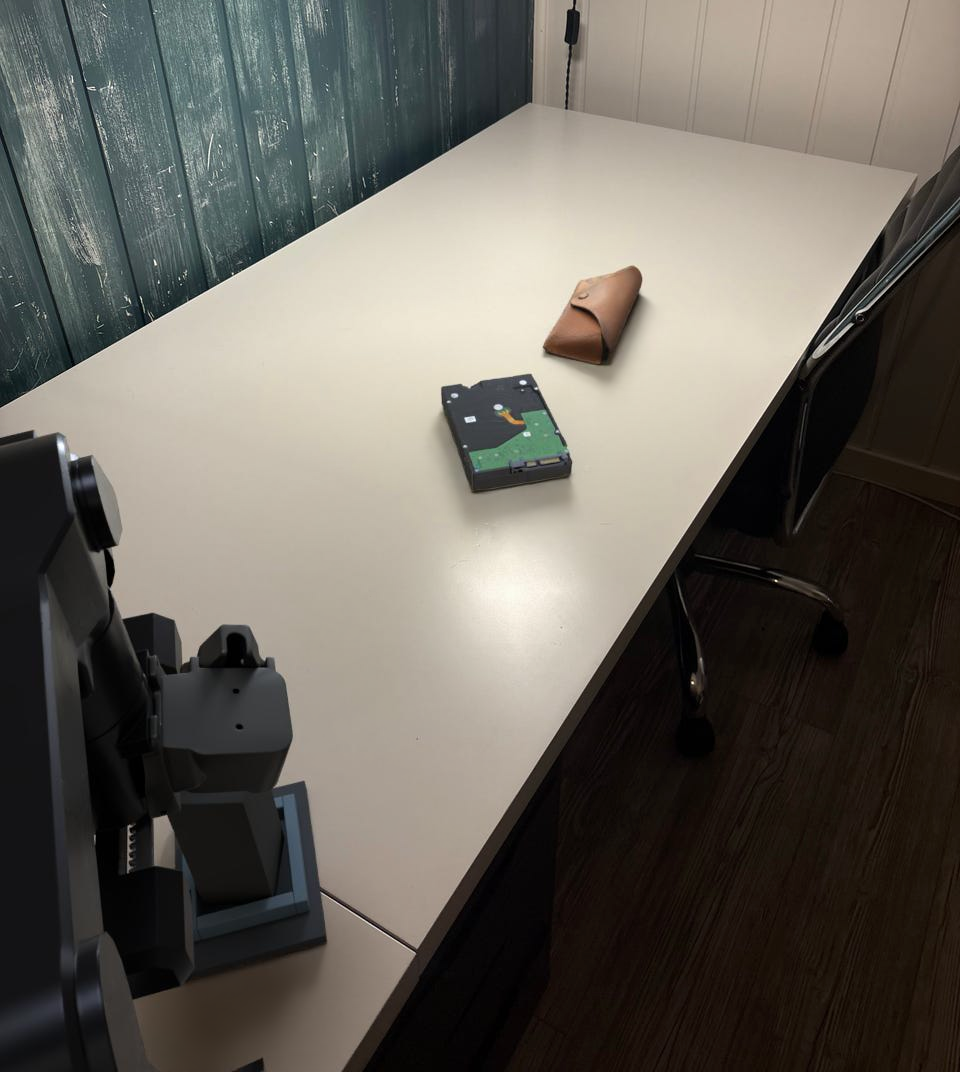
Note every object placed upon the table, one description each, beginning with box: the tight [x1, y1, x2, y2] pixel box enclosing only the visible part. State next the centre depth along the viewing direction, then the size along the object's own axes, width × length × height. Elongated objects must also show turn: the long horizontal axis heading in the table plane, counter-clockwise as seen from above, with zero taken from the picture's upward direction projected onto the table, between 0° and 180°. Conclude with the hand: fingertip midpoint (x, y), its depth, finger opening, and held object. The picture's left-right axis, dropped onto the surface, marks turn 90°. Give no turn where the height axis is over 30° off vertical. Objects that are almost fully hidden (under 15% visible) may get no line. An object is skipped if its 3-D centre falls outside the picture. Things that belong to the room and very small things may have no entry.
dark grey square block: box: [166, 790, 285, 906], centre depth 58 cm, size 4×4×12 cm
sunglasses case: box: [542, 265, 643, 366], centre depth 115 cm, size 18×7×7 cm
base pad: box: [174, 780, 328, 983], centre depth 62 cm, size 11×9×2 cm
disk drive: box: [440, 373, 573, 492], centre depth 97 cm, size 10×3×15 cm
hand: (155, 872), depth 50 cm, fingers open, 9 cm apart
